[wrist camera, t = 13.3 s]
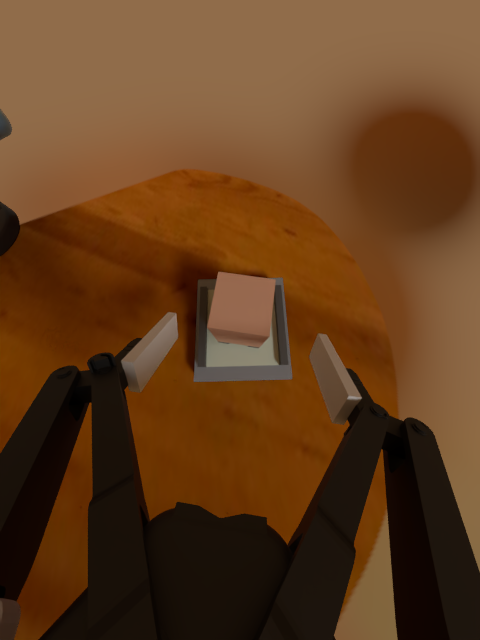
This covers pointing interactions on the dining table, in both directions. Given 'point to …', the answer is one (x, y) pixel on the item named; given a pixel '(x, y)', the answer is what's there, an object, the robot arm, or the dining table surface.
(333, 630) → the robot arm
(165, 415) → the dining table surface
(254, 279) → the block
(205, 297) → the step
